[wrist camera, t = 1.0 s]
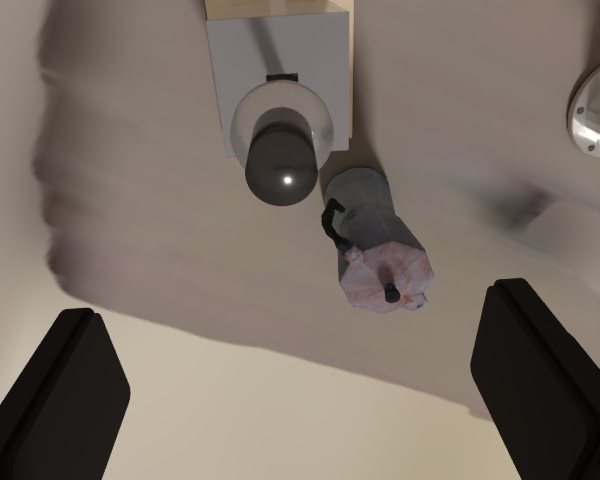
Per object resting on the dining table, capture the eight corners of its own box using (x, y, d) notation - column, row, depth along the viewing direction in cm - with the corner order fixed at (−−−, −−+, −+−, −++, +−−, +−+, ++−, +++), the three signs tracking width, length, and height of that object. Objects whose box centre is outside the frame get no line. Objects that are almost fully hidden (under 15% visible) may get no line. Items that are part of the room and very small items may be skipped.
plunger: (324, 22, 36) (370, 77, 17) (326, 111, 40) (365, 241, 21) (235, 27, 36) (177, 90, 17) (246, 116, 40) (209, 251, 21)
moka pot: (370, 249, 61) (403, 355, 44) (285, 189, 56) (286, 283, 39) (419, 202, 57) (476, 298, 40) (333, 133, 52) (357, 210, 35)
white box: (352, -55, 42) (389, -71, 27) (350, 134, 52) (376, 197, 37) (200, -45, 42) (154, -56, 27) (228, 141, 52) (205, 208, 37)
